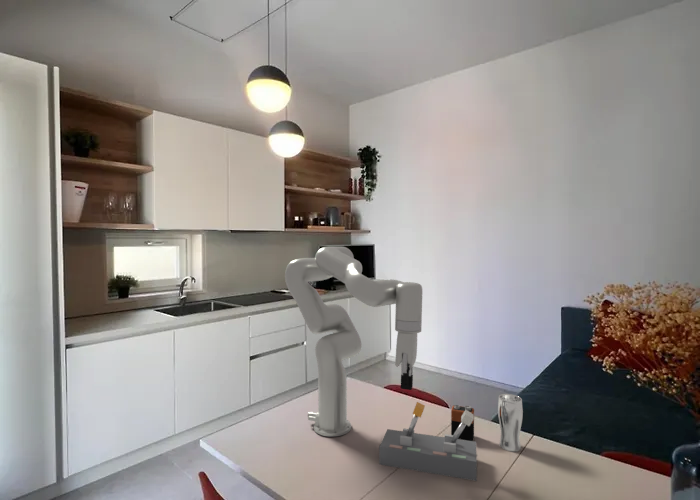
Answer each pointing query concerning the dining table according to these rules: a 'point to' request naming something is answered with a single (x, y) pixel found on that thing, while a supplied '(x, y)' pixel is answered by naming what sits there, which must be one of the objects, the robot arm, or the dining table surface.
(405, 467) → the switch box
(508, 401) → the beer glass
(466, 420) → the on lever
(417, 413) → the orange lever
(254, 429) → the dining table surface
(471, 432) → the battery
